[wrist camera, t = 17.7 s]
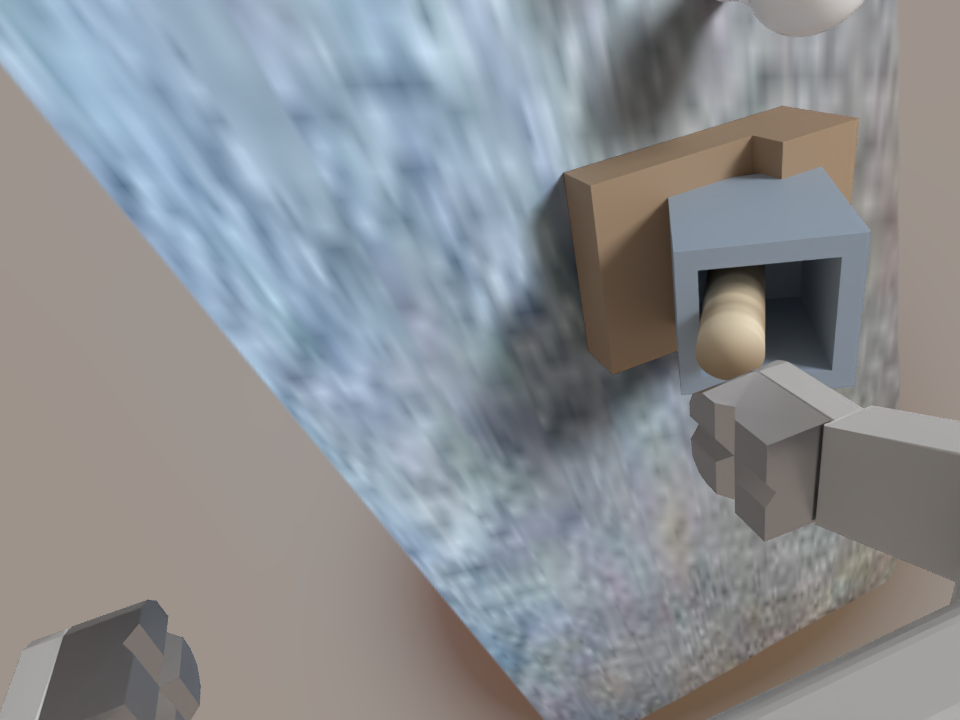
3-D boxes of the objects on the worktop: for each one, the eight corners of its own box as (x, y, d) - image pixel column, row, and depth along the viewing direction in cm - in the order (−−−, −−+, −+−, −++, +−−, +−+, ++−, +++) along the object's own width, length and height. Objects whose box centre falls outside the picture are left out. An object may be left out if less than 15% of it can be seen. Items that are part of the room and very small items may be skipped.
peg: (710, 234, 43) (694, 325, 34) (765, 231, 42) (765, 325, 33) (710, 281, 45) (696, 379, 36) (764, 279, 43) (764, 381, 34)
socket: (563, 172, 43) (710, 243, 30) (782, 106, 46) (1008, 142, 32) (588, 350, 50) (715, 473, 37) (776, 283, 53) (959, 374, 40)
